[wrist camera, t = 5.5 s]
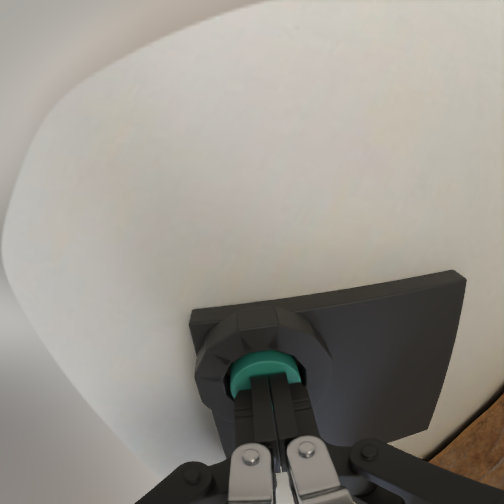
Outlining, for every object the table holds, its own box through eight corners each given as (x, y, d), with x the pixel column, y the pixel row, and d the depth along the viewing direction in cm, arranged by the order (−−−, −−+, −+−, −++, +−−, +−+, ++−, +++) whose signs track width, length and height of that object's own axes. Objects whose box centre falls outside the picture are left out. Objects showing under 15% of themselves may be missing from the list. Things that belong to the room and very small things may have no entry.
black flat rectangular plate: (230, 456, 19) (231, 490, 16) (189, 300, 15) (181, 335, 12) (420, 417, 19) (436, 444, 16) (454, 261, 15) (486, 282, 12)
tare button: (235, 390, 15) (235, 415, 13) (225, 341, 14) (225, 366, 12) (295, 382, 15) (302, 406, 13) (293, 332, 14) (300, 356, 12)
